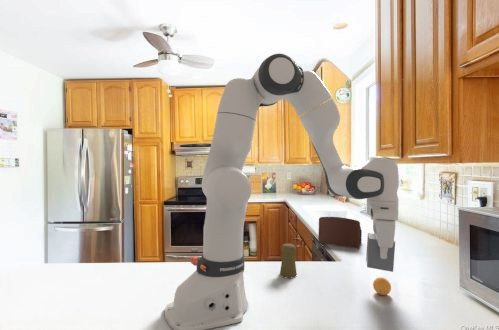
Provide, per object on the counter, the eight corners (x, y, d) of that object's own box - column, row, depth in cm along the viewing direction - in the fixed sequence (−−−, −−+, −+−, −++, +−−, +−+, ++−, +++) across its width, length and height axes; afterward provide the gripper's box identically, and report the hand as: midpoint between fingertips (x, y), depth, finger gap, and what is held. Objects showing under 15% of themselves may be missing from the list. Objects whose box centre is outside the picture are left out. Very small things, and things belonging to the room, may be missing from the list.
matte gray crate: (367, 267, 82) (369, 238, 82) (366, 259, 89) (367, 232, 88) (393, 271, 80) (395, 242, 79) (389, 263, 86) (391, 236, 86)
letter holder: (359, 249, 129) (360, 219, 129) (318, 243, 138) (318, 215, 138) (361, 243, 138) (362, 216, 138) (322, 238, 147) (322, 212, 147)
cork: (296, 279, 94) (297, 247, 94) (279, 277, 95) (279, 246, 95) (297, 272, 100) (297, 242, 100) (280, 270, 101) (281, 241, 101)
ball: (385, 283, 80) (377, 297, 81) (397, 286, 82) (389, 300, 83) (374, 272, 85) (367, 285, 86) (386, 275, 86) (378, 288, 87)
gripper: (368, 203, 94) (368, 243, 95) (373, 214, 75) (373, 263, 75) (389, 204, 92) (388, 245, 92) (399, 215, 73) (398, 266, 73)
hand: (381, 253), depth 84 cm, fingers closed on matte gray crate, 7 cm apart
